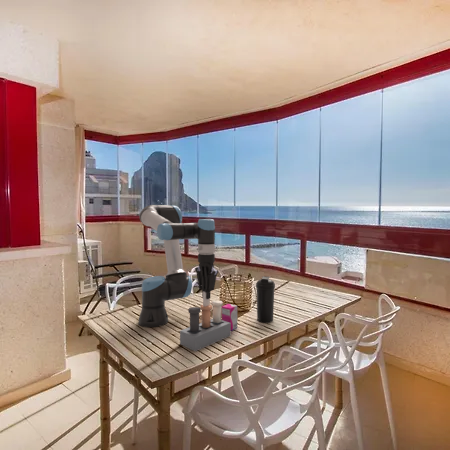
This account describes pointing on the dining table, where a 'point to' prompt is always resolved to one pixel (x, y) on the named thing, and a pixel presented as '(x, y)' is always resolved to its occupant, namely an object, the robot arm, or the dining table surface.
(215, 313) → the cream plug
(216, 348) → the dining table surface
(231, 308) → the supplement box
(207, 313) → the terracotta plug
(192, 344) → the socket block
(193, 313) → the black plug
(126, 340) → the dining table surface
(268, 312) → the water bottle
